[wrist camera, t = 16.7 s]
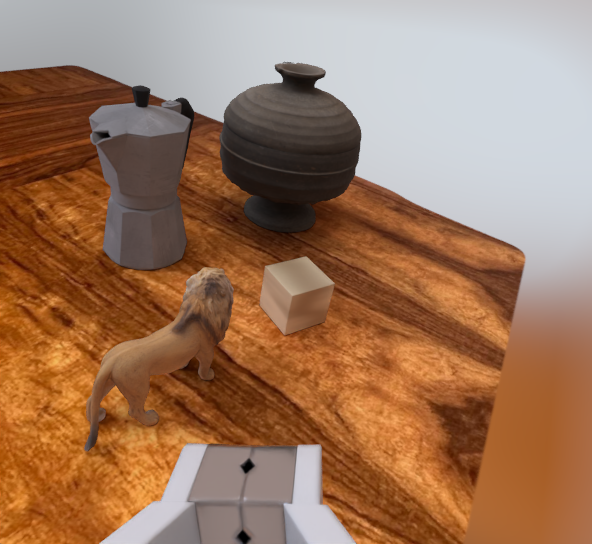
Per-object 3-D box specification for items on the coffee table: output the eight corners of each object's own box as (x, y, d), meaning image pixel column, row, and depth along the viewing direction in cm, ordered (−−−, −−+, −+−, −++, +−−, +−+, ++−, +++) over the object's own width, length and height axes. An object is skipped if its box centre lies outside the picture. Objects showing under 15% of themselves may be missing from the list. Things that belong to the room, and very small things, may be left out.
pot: (181, 208, 60) (199, 42, 50) (257, 181, 74) (284, 47, 64) (296, 266, 54) (343, 92, 44) (355, 225, 68) (401, 86, 58)
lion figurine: (196, 327, 44) (200, 249, 39) (242, 353, 42) (252, 274, 37) (61, 437, 33) (41, 347, 28) (116, 478, 31) (105, 389, 26)
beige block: (298, 293, 51) (306, 256, 48) (325, 321, 47) (335, 283, 45) (259, 305, 48) (264, 266, 45) (284, 335, 45) (292, 295, 42)
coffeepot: (145, 292, 47) (139, 114, 36) (70, 262, 49) (44, 85, 38) (220, 228, 59) (230, 82, 49) (157, 206, 61) (154, 62, 51)
